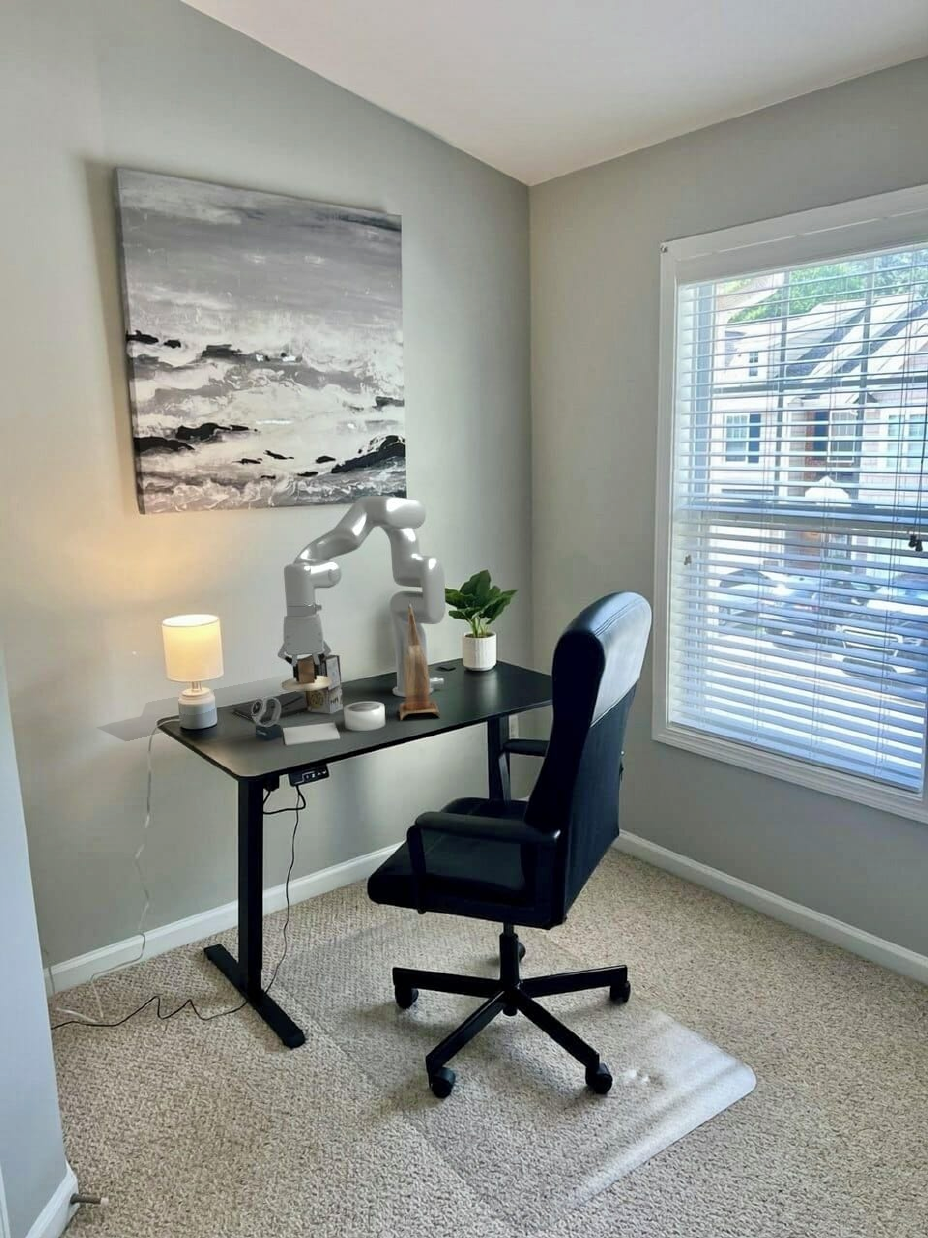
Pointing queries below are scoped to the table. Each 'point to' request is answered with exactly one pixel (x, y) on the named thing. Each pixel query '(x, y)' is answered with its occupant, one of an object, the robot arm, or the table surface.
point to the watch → (270, 728)
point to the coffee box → (329, 696)
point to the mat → (310, 733)
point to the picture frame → (289, 706)
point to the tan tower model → (416, 675)
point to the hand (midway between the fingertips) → (306, 678)
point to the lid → (306, 678)
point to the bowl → (364, 716)
